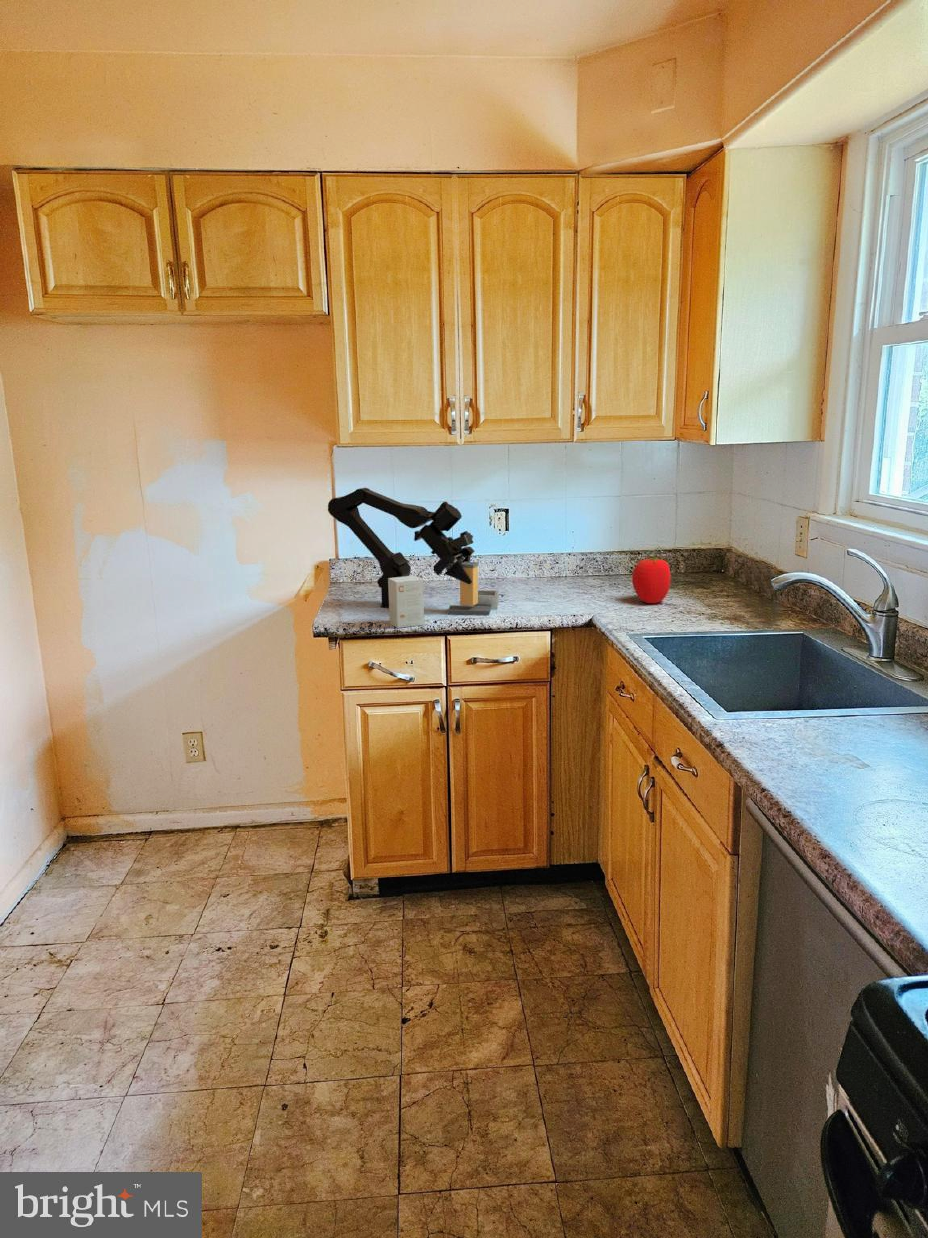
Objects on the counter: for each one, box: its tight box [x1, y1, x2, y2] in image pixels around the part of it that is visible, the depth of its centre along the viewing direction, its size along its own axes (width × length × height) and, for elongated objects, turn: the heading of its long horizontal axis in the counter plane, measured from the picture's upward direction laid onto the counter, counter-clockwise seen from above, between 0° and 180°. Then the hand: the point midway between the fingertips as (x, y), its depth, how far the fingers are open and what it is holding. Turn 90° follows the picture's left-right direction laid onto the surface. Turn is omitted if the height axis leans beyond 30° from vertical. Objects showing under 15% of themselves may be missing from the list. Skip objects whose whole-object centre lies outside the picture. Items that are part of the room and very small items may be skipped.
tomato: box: [631, 555, 672, 604], centre depth 254 cm, size 13×11×14 cm
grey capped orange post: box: [459, 561, 479, 606], centre depth 243 cm, size 4×4×12 cm
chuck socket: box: [473, 589, 500, 610], centre depth 252 cm, size 8×8×4 cm
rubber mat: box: [447, 604, 492, 616], centre depth 245 cm, size 12×6×1 cm, turn 84°
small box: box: [388, 575, 425, 629], centre depth 230 cm, size 8×6×13 cm
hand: (473, 581), depth 242 cm, fingers closed on grey capped orange post, 4 cm apart
